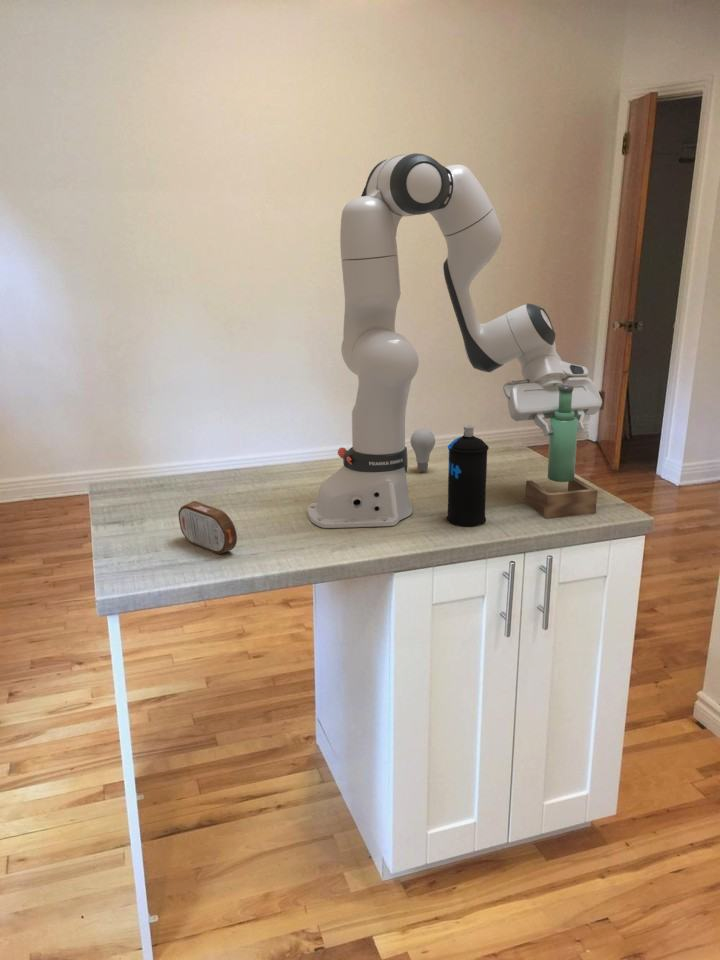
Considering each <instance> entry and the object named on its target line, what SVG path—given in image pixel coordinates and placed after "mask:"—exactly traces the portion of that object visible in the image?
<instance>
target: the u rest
mask: <svg viewBox="0 0 720 960" xmlns="http://www.w3.org/2000/svg"><path fill="white" fill-rule="evenodd" d="M524 495H525V496H524V497H525V498H524V503H525V504H526V505H528V507H530V508H532V510H535V511H536V512H537V513H538V514H540V515H541V516H543V518H545V519H550V518H551V517H553V518H560V517H559V516H562V517H569V515H571V516H580V514H581V515H588V513H590V514H596V513H597V502H598V499H597V498H598V490H597V489H596V488H594V487H592V486H590V485H589V484H587V483H585V482H584V481H582V480H581V479H578V478H577V477H575V478H574V480H573V481H570V482H567V491H558V492H549V491H547V490H546V489H545V488H544V487H541V486H540V485H539V484H537V483H535V482H534V481H533V480H526V481H525V493H524ZM551 519H552V518H551Z"/></svg>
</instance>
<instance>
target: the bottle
mask: <svg viewBox="0 0 720 960" xmlns="http://www.w3.org/2000/svg"><path fill="white" fill-rule="evenodd" d="M558 391H559V406H558V410H557V411H555V416H554V417H551V418H549V419H550V420H549V421H550V422H549V425H552V427H553V430H554V433H553V434H552V435H549V443H548V462H547V479H548V480H549V481H552V482H555V483H556V482H558V483H568V482H570V481H573V480H574V478H576V477H575V476H576V459H577V458H576V457H577V446H578V445H577V443H578V441H577V440H578V433H577V429H578V418H576V417H574V413H575V412H574V411H572V410H571V404H572V391H573V386H569V385H562V386H559V387H558Z"/></svg>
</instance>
